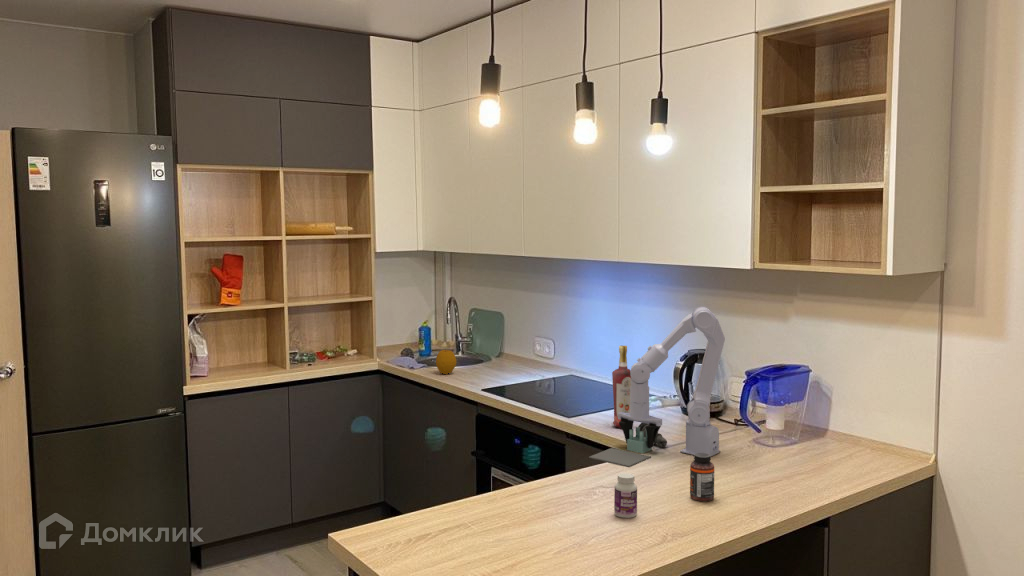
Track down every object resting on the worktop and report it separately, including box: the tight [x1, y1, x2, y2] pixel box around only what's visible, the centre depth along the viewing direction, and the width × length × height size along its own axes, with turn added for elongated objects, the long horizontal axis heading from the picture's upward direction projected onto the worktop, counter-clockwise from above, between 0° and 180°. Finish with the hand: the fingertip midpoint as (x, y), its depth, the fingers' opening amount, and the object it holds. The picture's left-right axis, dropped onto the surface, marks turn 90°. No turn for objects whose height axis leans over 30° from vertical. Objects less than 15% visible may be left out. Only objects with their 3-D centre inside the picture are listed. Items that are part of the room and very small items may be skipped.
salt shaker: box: [637, 422, 668, 448], centre depth 248 cm, size 6×6×12 cm
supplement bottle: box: [689, 453, 715, 502], centre depth 199 cm, size 6×6×11 cm
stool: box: [626, 426, 653, 455], centre depth 242 cm, size 6×6×6 cm
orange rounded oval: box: [435, 349, 457, 375], centre depth 369 cm, size 10×10×12 cm
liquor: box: [611, 345, 632, 430], centre depth 269 cm, size 7×7×28 cm
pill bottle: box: [613, 472, 638, 519], centre depth 188 cm, size 5×5×10 cm
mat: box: [588, 447, 652, 468], centre depth 234 cm, size 14×12×1 cm
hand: (639, 445), depth 242 cm, fingers open, 7 cm apart
